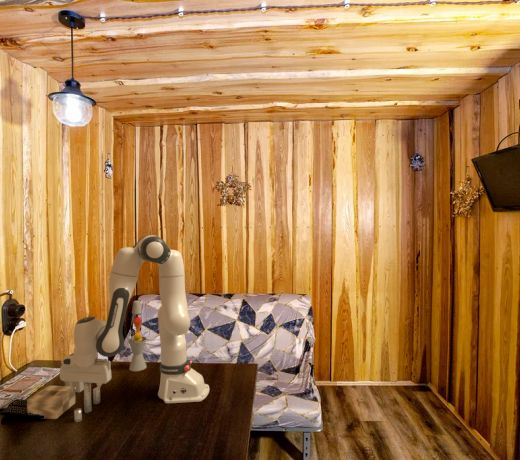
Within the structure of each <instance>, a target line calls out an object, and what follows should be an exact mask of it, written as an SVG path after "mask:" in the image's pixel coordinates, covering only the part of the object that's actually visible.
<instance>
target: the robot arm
mask: <svg viewBox="0 0 520 460" xmlns="http://www.w3.org/2000/svg"><path fill="white" fill-rule="evenodd" d="M145 262H150V263H155V264H157V267H158V285H159V288H158V289H159V299H160V305H161V306H160V307H159V308H158V311H157V323H158V332H159V341H160V362H159V372H160V373H159V374H160V381H159V383H160V384H159V389H158V392H157V396H158V398H159V399H161V400H163V402H164V403H165V404H177V403H180V404H181V403H194V402H196V403H197V402H198V403H199V402H202V401H203V400H205V399H206V398H207V396H208V395H209V393H210V385H209V384H207V383H205V380H204V377H203V375H202V374H201V373H199V372H197V371H196V370H195V369H194V368H192V363H193V361H192V360H190V361H189V360H188V358H187V354H188V353H187V340H186V335H185V334H186V333H187V332H188V331H189V329H190V327H191V319H190V313H189V305H188V300H187V294H186V279H185V278H186V277H185V276H186V274H185V264H184V259H183V254H182V253H181V252H180V251H178V250H176V249H170V248H169V246H168V245H167V243H166V241H165V240H164V239H163V238H161V237H159V236H158V235H154V234H149V235H144V236H143V237H141V238H140V239H139V240H138V241H137V242H136V243H135V244H134V245H133V246H132V247H131V246H125V247H122V248H120V249H119V250H117V252H116V255H115V257H114V259H113V261H112V265H111V268H110V272H109V278H108V293H109V309H108V313H107V314H108V315H107V317H106V318H107V319H106V320H105V321H104V320H102V319H99V318H97V317H96V316H86V317H83V318H81V319H79V320H78V321H77V322H76V323H75V325H74V327H73V344H74V350H73V352H72V353H70V354H68V355H66V356H65V357H63V358H62V359H61V361H60V363H61V365H60V369H59V379H60V381H61V382H65V381H69V385H70V386H71V388H72V392H75V393H77V392H76V391H78V386H76V385H75V383H74V382H87V383H91V384H93V383H94V384H96V387H94V388H95V389H94V388H93V389H94V393H99V392H100V393H101V387H102V385H103V384H104V385H105V384H107V383H109V382H110V381H111V380H112V369H111V366H112V365H111V364H112V363H111V361H110V360H108V359H106V357H107V358H111V357H115V356H117V355H119V354H120V352H122V350H123V348H124V346H125V338H124V335H123V329H124V328H123V327H124V323H125V318H126V313H127V309H128V306H129V303H130V299H131V297H132V295H133V293H134V290H135V287H136V285H137V283H138V278H139V273H140V269H141V267H142V265H143V263H145ZM99 355H100V356H102V357H105V358H99Z"/></svg>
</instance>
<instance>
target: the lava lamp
mask: <svg viewBox="0 0 520 460" xmlns="http://www.w3.org/2000/svg"><path fill="white" fill-rule="evenodd" d="M131 314H132V315H139V314H140V315H141V314H143V311H142V305H141V301H140V300H134V301H133V303H132V310H131ZM132 324H133V325H134V326H135V333H134V334H133V337H130V338H129V339H127V341H128V342H127V343H128V345H129V346H130V349H131V351H132V353H133V354H132V358H131V361H130V364H129V368H128V370H129V371H131V372H140V371H143V370H146V369H147V364H146V361H145V358H144V354H143V350H144V348H145V345H146V342H147V337H146V336H142V334H141V325H142V318H141V317H140V316H135V317H134V318H133V319H132Z"/></svg>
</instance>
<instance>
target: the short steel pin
mask: <svg viewBox="0 0 520 460" xmlns="http://www.w3.org/2000/svg"><path fill="white" fill-rule="evenodd" d="M73 418H74V420H73V421H74V423H79V422H81V421H83V410H82V408H80V407H79V408H75V409H74V410H73Z"/></svg>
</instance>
